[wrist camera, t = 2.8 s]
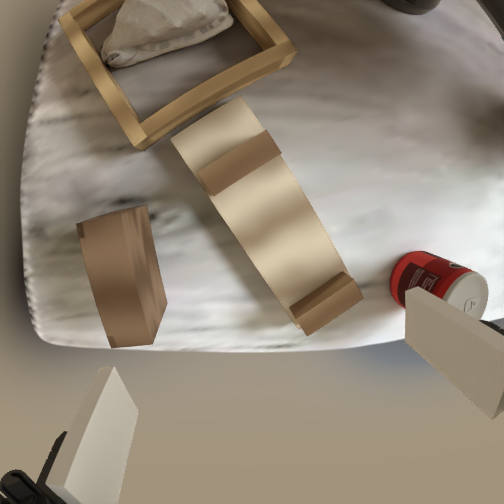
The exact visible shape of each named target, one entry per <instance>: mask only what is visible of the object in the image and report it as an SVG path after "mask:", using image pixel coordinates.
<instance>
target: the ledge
mask: <svg viewBox="0 0 504 504" xmlns="http://www.w3.org/2000/svg"><path fill="white" fill-rule="evenodd" d="M170 140H171V141H172V143H173V144H174V146H175V147H176V149H177V150H178V152H179V153H180V155H181V156H182V158H183V159H184V161H185V162H186V164H187V165H188V167H189V168H190V170H191V171H192V173H193V174H194V176H195V177H196V179H197V180H198V182H199V183H200V185H201V186H202V188H203V189H204V191H205V192H206V194H207V195H208V197H209V198H210V200H211V201H212V203H213V204H214V205H215V207H216V208H217V210H218V211H219V213H220V214H221V216H222V217H223V219H224V220H225V222H226V223H227V225H228V226H229V228H230V229H231V231H232V232H233V234H234V235H235V237H236V238H237V240H238V241H239V243H240V244H241V246H242V247H243V249H244V250H245V252H246V253H247V255H248V256H249V258H250V259H251V260H252V262H253V263H254V265H255V266H256V268H257V269H258V271H259V272H260V274H261V275H262V277H263V278H264V280H265V281H266V283H267V284H268V286H269V287H270V289H271V290H272V292H273V293H274V294H275V296H276V297H277V299H278V300H279V302H280V303H281V305H282V306H283V308H284V309H285V311H286V312H287V314H288V315H289V317H290V318H291V320H292V321H293V322H294V324H295V325H296V327H297V328H298V329H299V328H302V329H303V331H304V332H305V334H306V335H307V336H309V335H311V334H312V333H314V332H315V331H317V330H318V329H320V328H321V327H323V326H324V325H326V324H327V323H329V322H330V321H332V320H333V319H335V318H336V317H338V316H339V315H340V314H342V313H343V312H345V311H346V310H348V309H349V308H350V307H352V306H353V305H355V304H356V303H358V302H359V301H360V300H362V299H363V296H362V294H361V292H360V290H359V288H358V286H357V284H356V282H355V280H354V279H353V278H351V276H350V274H349V272H348V271H347V269H346V267H345V265H344V263H343V261H342V259H341V257H340V256H339V254H338V252H337V250H336V248H335V246H334V245H333V243H332V241H331V239H330V237H329V235H328V234H327V232H326V230H325V228H324V227H323V225H322V223H321V221H320V220H319V218H318V216H317V214H316V213H315V211H314V209H313V207H312V206H311V204H310V202H309V201H308V199H307V197H306V196H305V194H304V192H303V191H302V189H301V187H300V186H299V184H298V182H297V181H296V179H295V177H294V176H293V174H292V172H291V171H290V169H289V168H288V166H287V164H286V163H285V161H284V160H283V158H282V157H281V155H280V154H282V153H281V151H280V150H279V148H278V146H277V145H276V143H275V142H274V140H273V139H272V137H271V136H270V134H269V133H268V131H267V130H264V129H263V127H262V126H261V124H260V123H259V121H258V120H257V118H256V117H255V115H254V114H253V112H252V111H251V109H250V108H249V107H248V105H247V104H246V102H245V101H244V99H243V98H242V96H241V95H240V96H238V97H236V98H235V99H233V100H231V101H229V102H228V103H226V104H224V105H223V106H221V107H219V108H217V109H216V110H214V111H212V112H211V113H209V114H208V115H206V116H204V117H203V118H201V119H200V120H198V121H196V122H195V123H193V124H192V125H190V126H189V127H187V128H186V129H184V130H183V131H181V132H179V133H178V134H177V135H175V136H174V137H172V138H171V139H170Z"/></svg>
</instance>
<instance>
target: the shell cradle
mask: <svg viewBox="0 0 504 504" xmlns="http://www.w3.org/2000/svg"><path fill="white" fill-rule="evenodd" d="M124 1H125V0H84V1H82V2H81V3H80V4H78V5H77V6H75V7H74V8H73V9H71V10H70V11H69V12H67V13H66V14H65V15H63V16H62V17H61V18H59V19H58V21H59V23H60V25H61V27H62V28H63V30H64V32H65V34H66V35H67V37H68V39H69V41H70V43H71V44H72V46H73V48H74V50H75V51H76V53H77V55H78V56H79V58H80V60H81V62H82V63H83V65H84V67H85V68H86V70H87V72H88V74H89V75H90V77H91V79H92V80H93V82H94V84H95V85H96V87H97V89H98V90H99V92H100V93H101V95H102V97H103V98H104V100H105V102H106V103H107V105H108V107H109V108H110V110H111V111H112V113H113V115H114V116H115V118H116V119H117V121H118V123H119V124H120V126H121V127H122V129H123V131H124V132H125V134H126V135H127V137H128V138H129V140H130V142H131V143H132V145H133V146H134V147H136V148H138V149H140V150H143V151H145V150H146V149H147V148H149V147H150V146H152V145H153V144H154V143H156V142H157V141H159V140H160V139H161V138H163V137H164V136H166V135H167V134H169V133H170V132H172V131H173V130H175V129H176V128H178V127H179V126H181V125H182V124H184V123H185V122H187V121H188V120H190V119H191V118H193V117H195V116H196V115H198V114H199V113H201V112H203V111H204V110H206V109H207V108H209V107H211V106H212V105H214V104H216V103H217V102H219V101H221V100H223V99H224V98H226V97H228V96H229V95H231V94H233V93H235V92H237V91H238V90H240V89H242V88H244V87H246V86H248V85H249V84H251V83H253V82H255V81H257V80H259V79H261V78H263V77H265V76H267V75H269V74H271V73H273V72H275V71H277V70H279V69H281V68H283V67H285V66H287V65H289V64H290V62H291V61H292V59H293V58H294V56H295V55H296V53H297V52H298V50H297V49H296V47H295V46H294V45H293V43H292V42H291V41H290V40H289V38H288V37H287V36H286V35H285V33H284V32H283V31H282V30H281V28H280V27H279V26H278V25H277V23H276V22H275V21H274V20H273V19H272V17H271V16H270V15H269V14H268V13H267V12H266V10H265V9H264V8H263V7H262V6H261V5H260V4H259V3H258V1H257V0H224V1H225V2H226V4H227V7H228V9H229V10H230V11H231V12H232V13H233V14H234V15H235V17H236V18H237V19H238V20H239V21H240V23H241V24H242V25H243V26H244V27H245V29H246V30H247V31H248V32H249V34H250V35H251V36H252V37H253V39H254V40H255V41H256V42H257V44H258V45H259V46H260V47H261V49H262V50H263V52H261V53H258V54H256V55H254V56H252V57H250V58H248V59H246V60H244V61H242V62H240V63H238V64H236V65H234V66H232V67H230V68H229V69H227V70H225V71H223V72H221V73H219V74H218V75H216V76H214V77H212V78H210V79H209V80H207V81H205V82H203V83H202V84H200V85H198V86H197V87H195V88H193V89H192V90H190V91H188V92H187V93H185V94H184V95H182V96H180V97H179V98H177V99H176V100H174V101H173V102H171V103H169V104H168V105H166V106H165V107H163V108H162V109H160V110H159V111H157V112H156V113H155V114H153V115H152V116H150V117H149V118H147V119H146V120H145V121H143V122H142V121H141V119H140V117H139V116H138V114H137V113H136V111H135V110H134V108H133V107H132V105H131V104H130V102H129V100H128V99H127V97H126V96H125V94H124V93H123V91H122V90H121V88H120V86H119V85H118V83H117V82H116V80H115V79H114V77H113V76H112V74H111V72H110V71H109V69H108V68H107V66H106V65H105V64H103V62H102V59H101V57H100V55H99V53H98V52H97V50H96V49H95V47H94V45H93V44H92V42H91V41H90V39H89V37H88V36H87V34H86V33H85V31H86V30H88V29H89V28H90V27H92V26H93V25H95V24H96V23H97V22H99V21H100V20H102V19H103V18H105V17H106V16H108V15H109V14H111V13H112V12H114V11H116V10H117V9H119V8H120V7H122V5H123V3H124Z"/></svg>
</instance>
